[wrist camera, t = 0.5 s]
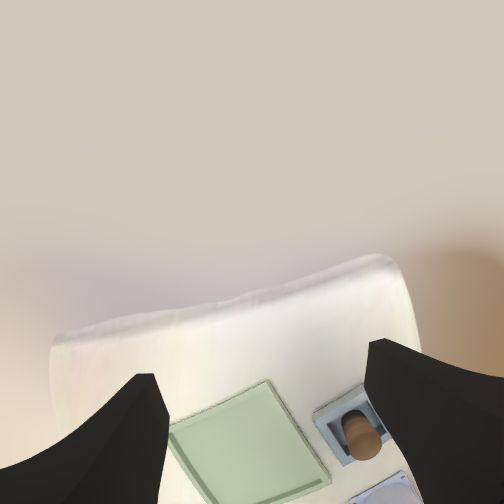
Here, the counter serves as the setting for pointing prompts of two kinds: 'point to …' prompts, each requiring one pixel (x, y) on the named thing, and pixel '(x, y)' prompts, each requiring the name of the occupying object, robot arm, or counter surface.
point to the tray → (247, 451)
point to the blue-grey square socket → (332, 416)
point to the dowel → (360, 435)
